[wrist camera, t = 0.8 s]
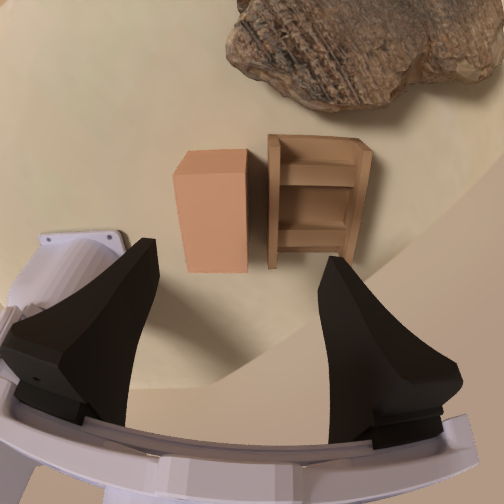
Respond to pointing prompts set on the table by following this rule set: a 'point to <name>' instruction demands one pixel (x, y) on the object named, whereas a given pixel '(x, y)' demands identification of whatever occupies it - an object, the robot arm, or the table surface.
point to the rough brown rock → (364, 47)
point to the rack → (315, 194)
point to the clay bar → (213, 210)
